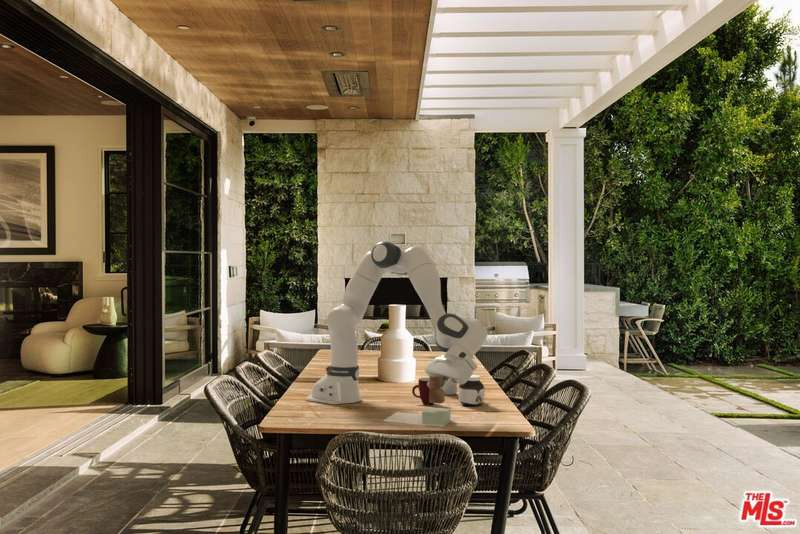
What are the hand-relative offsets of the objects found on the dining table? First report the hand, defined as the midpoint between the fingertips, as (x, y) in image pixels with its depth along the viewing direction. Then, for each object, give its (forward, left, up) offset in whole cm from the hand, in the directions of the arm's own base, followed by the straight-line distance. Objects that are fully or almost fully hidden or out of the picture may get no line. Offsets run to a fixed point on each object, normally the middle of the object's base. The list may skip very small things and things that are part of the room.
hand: (435, 388), depth 240 cm
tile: (-7, +2, -13) cm, 15 cm away
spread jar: (+3, +40, -13) cm, 43 cm away
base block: (0, 0, -12) cm, 12 cm away
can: (-11, +56, -13) cm, 59 cm away
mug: (-14, +32, -13) cm, 38 cm away
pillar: (0, +1, -5) cm, 5 cm away
